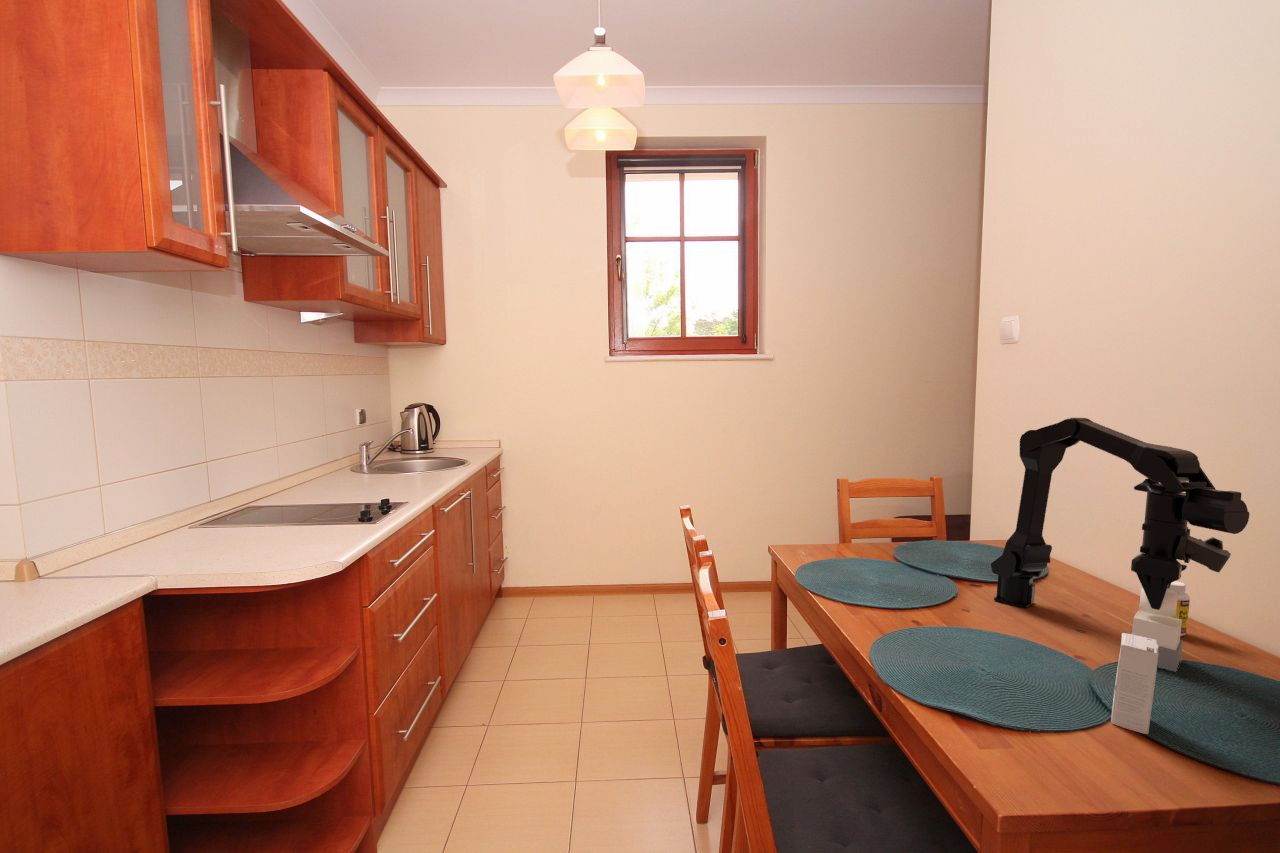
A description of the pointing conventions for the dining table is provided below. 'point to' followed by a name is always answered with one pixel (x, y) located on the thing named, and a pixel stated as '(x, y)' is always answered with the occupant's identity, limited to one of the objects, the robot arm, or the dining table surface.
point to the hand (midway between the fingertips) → (1157, 605)
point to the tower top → (1158, 628)
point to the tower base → (1169, 656)
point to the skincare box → (1135, 683)
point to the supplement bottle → (1181, 604)
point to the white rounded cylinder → (1167, 605)
